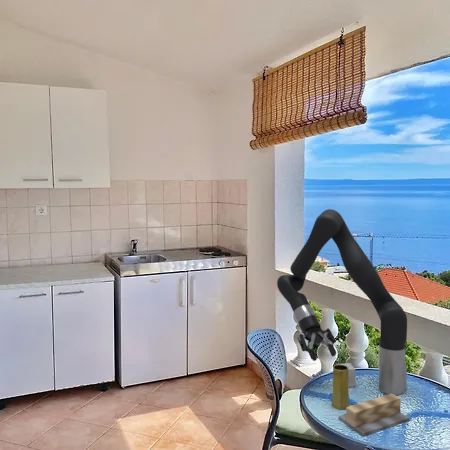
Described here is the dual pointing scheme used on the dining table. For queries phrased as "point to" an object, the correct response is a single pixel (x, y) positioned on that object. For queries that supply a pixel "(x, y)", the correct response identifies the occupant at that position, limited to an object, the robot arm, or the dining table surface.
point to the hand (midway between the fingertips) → (325, 357)
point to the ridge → (374, 415)
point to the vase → (340, 387)
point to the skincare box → (350, 375)
